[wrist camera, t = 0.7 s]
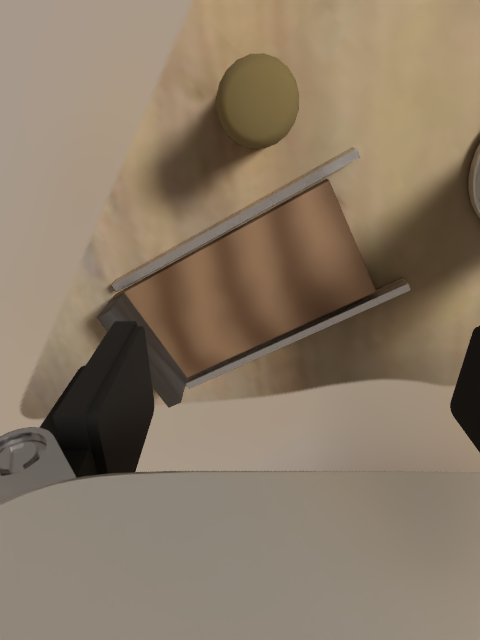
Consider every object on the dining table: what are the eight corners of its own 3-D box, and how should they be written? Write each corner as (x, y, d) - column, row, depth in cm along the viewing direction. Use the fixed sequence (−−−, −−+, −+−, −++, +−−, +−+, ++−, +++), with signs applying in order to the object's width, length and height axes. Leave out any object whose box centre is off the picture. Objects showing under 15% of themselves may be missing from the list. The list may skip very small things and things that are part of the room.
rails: (352, 147, 33) (356, 148, 32) (404, 284, 39) (410, 290, 38) (116, 279, 40) (111, 285, 38) (191, 380, 45) (189, 388, 44)
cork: (205, 111, 32) (186, 105, 23) (255, 47, 30) (256, 11, 21) (257, 163, 34) (259, 178, 24) (307, 106, 32) (330, 98, 22)
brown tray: (326, 178, 35) (339, 187, 30) (372, 286, 39) (390, 310, 34) (116, 294, 40) (97, 317, 35) (177, 376, 45) (168, 407, 40)
